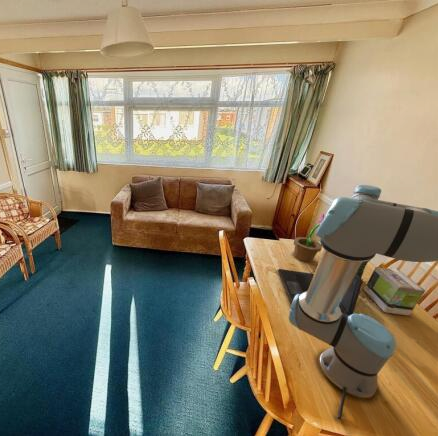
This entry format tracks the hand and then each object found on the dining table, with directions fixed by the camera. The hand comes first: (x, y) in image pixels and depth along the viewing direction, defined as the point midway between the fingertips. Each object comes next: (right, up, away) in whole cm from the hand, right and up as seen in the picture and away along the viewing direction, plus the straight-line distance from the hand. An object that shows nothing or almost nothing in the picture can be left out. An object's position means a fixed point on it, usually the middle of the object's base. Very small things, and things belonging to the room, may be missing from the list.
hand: (333, 267), depth 105 cm
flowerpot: (+11, -2, +37) cm, 38 cm away
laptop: (-6, -15, +9) cm, 18 cm away
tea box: (+27, -17, +4) cm, 32 cm away
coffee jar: (+24, -10, +20) cm, 33 cm away
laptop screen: (+3, -5, +2) cm, 6 cm away
